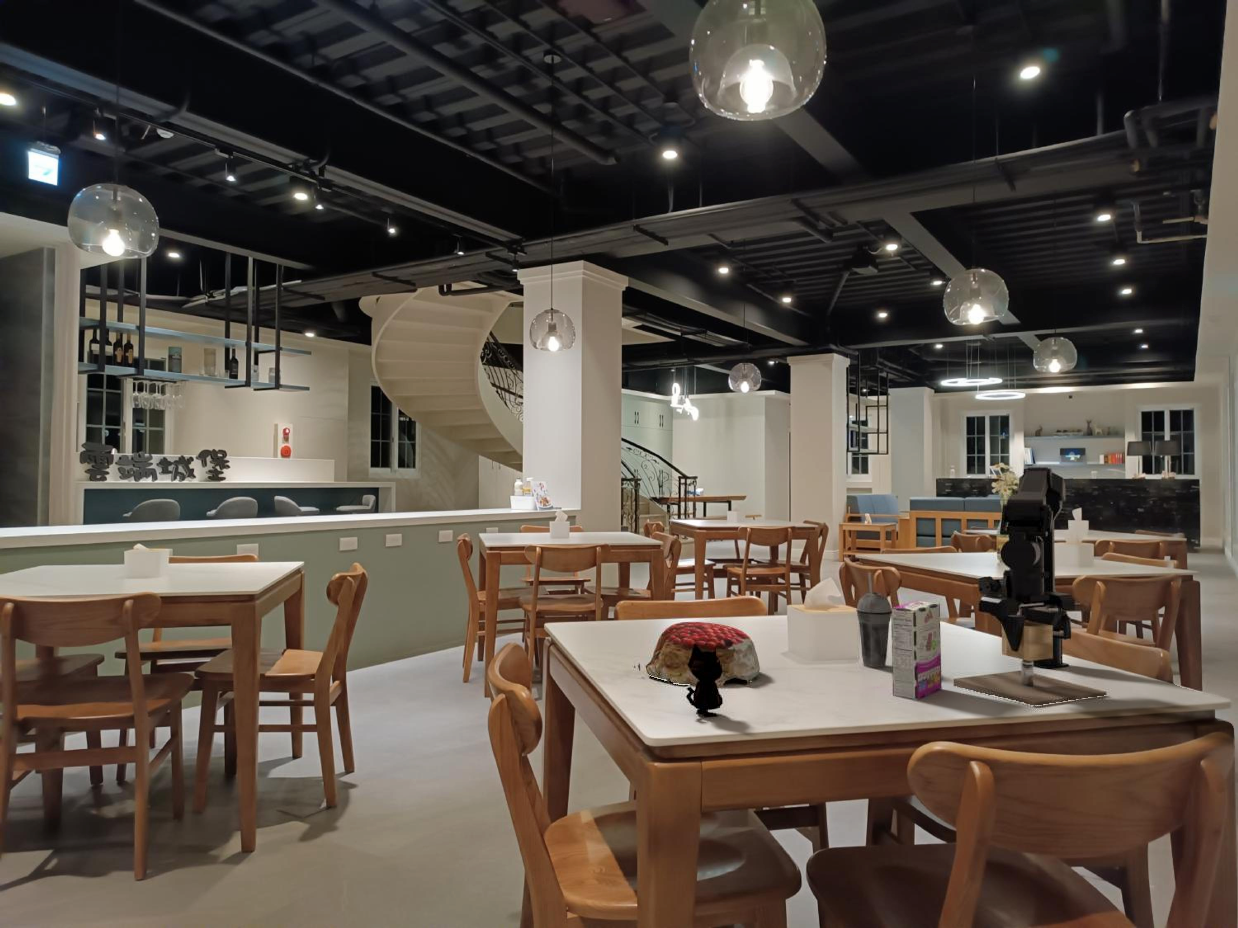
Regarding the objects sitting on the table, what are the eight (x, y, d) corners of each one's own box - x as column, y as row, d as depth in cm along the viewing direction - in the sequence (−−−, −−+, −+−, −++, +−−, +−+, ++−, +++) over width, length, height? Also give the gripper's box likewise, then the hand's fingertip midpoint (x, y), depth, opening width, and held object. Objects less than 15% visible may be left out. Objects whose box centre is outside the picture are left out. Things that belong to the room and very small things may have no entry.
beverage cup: (899, 667, 171) (899, 572, 172) (871, 670, 168) (871, 574, 169) (876, 660, 178) (876, 569, 178) (849, 663, 175) (849, 570, 176)
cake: (621, 669, 170) (621, 621, 170) (715, 657, 182) (715, 612, 182) (682, 695, 150) (682, 640, 150) (784, 679, 162) (784, 629, 162)
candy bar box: (916, 685, 157) (916, 600, 157) (942, 690, 153) (941, 602, 153) (890, 696, 148) (889, 606, 149) (917, 701, 145) (916, 609, 145)
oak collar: (1025, 651, 155) (1024, 620, 155) (1052, 658, 149) (1052, 625, 150) (1001, 654, 153) (1001, 622, 153) (1029, 660, 147) (1028, 627, 147)
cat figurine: (734, 720, 133) (734, 647, 133) (700, 727, 130) (700, 651, 130) (709, 710, 139) (709, 640, 139) (675, 715, 136) (676, 644, 136)
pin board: (1021, 677, 163) (1021, 645, 163) (1106, 700, 146) (1106, 663, 146) (953, 686, 156) (953, 652, 156) (1034, 711, 139) (1034, 672, 139)
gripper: (1025, 559, 162) (1026, 638, 162) (955, 563, 155) (955, 645, 155) (1076, 565, 152) (1077, 648, 152) (1003, 569, 145) (1004, 657, 145)
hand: (1027, 649), depth 151 cm, fingers closed on oak collar, 6 cm apart
